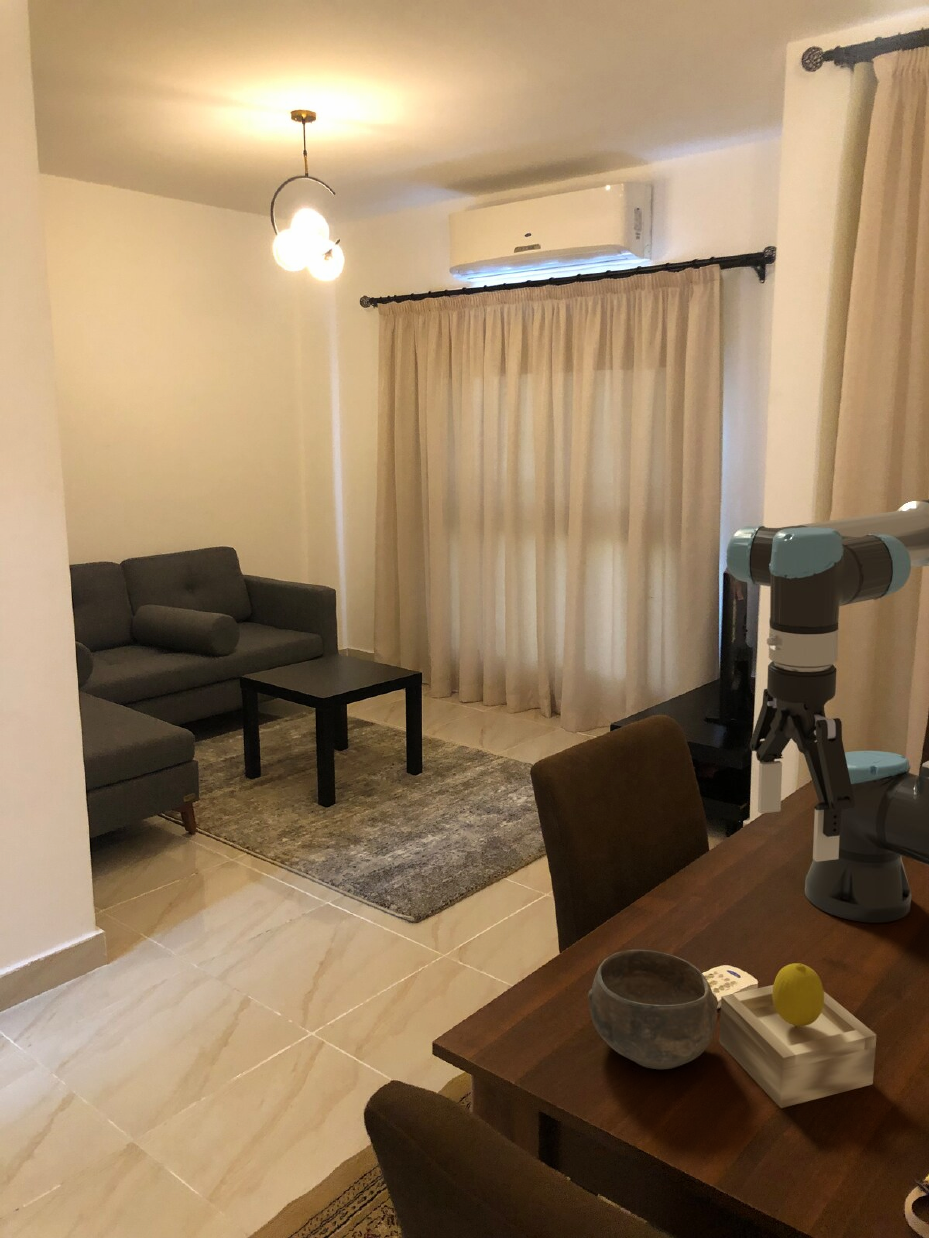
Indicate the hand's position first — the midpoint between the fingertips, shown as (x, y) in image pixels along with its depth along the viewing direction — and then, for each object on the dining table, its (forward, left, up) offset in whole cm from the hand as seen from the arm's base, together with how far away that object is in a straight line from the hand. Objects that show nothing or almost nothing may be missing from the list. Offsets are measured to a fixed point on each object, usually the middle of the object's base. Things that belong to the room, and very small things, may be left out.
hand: (795, 834), depth 117 cm
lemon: (+3, +9, -19) cm, 22 cm away
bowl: (+19, +5, -24) cm, 31 cm away
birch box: (+3, +9, -24) cm, 26 cm away
